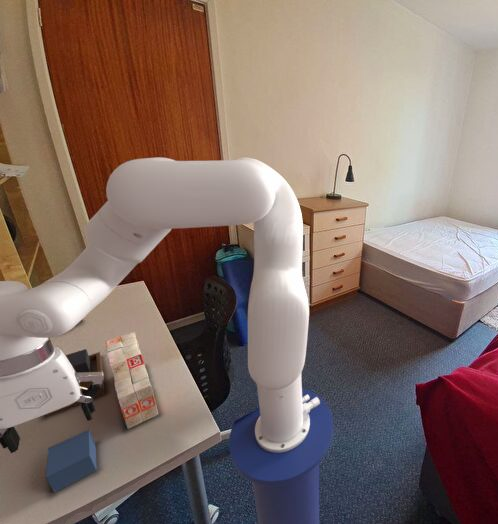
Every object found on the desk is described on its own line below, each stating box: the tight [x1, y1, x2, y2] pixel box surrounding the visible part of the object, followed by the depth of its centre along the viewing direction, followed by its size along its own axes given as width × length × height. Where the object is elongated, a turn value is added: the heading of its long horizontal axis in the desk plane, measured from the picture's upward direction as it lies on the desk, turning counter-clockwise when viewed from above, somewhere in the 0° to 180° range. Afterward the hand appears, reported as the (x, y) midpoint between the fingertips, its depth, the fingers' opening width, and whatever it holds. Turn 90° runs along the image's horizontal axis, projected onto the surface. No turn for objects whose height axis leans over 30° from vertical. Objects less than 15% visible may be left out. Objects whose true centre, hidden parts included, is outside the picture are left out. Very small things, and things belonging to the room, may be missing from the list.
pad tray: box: [45, 352, 106, 417], centre depth 75 cm, size 11×18×2 cm, turn 42°
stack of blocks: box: [105, 331, 159, 430], centre depth 70 cm, size 21×6×12 cm, turn 42°
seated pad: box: [64, 348, 91, 373], centre depth 77 cm, size 6×7×4 cm
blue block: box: [44, 429, 98, 493], centre depth 55 cm, size 6×7×4 cm
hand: (55, 429), depth 52 cm, fingers open, 9 cm apart
